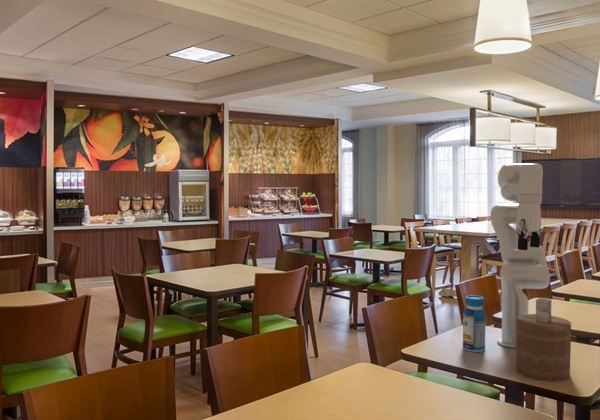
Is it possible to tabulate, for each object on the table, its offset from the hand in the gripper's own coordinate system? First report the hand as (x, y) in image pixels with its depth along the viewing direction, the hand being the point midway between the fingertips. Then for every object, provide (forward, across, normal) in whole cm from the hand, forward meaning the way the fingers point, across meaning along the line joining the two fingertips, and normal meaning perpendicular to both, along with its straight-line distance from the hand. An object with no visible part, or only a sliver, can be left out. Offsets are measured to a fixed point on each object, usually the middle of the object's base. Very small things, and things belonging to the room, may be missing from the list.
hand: (528, 248), depth 190 cm
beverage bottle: (+40, 0, -20) cm, 45 cm away
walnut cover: (+40, +6, +8) cm, 42 cm away
